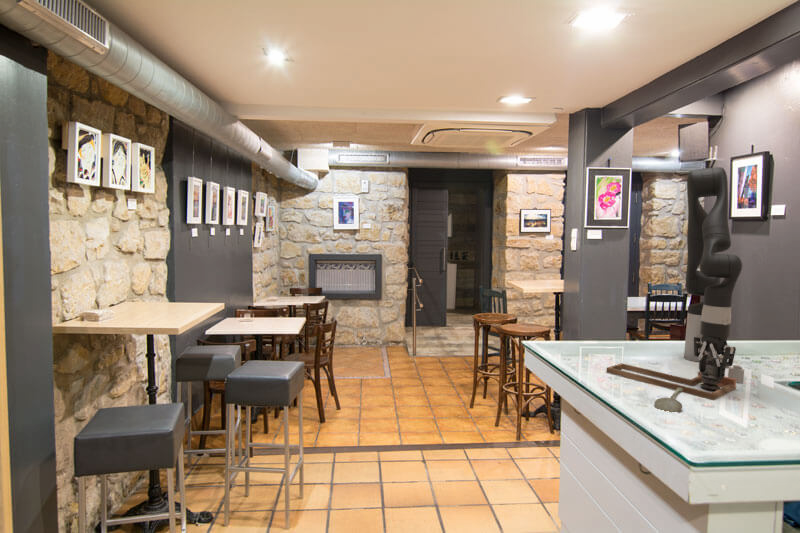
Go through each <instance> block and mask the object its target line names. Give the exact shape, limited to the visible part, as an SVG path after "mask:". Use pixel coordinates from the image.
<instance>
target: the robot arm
mask: <svg viewBox="0 0 800 533" xmlns="http://www.w3.org/2000/svg"><path fill="white" fill-rule="evenodd" d="M686 190H687V192H686V193H687V209H688V210H687V212H688V215H687V217H688V218H687V232H686V235H687V236H686V239H687V240H686V241H687V242H686V243H687V244H686V245H687V247H686V248H687V263H686V273H685V291H686V293H687V294H689V295H692V296H701V297H702V296H703V301H701V302H698V303H693V304H690V305H688V307H687V317H686V328H685V338H684V339H685V341H684V353H683V358H684V359H685V360H689V361H693V362H698V370H699V371H698V372H705V370H706V363H705V362H706V361H707V353H708V352H711V353H712V354H713V357H714V359H716V363H717V366H716V376H715V377H716V378H717V379H723V378H724V376H725V377H726V369H725V368H726V366H729V367H733V365H734V364H733V363H734V358H735V355H736V351H737V348H736V347H735V346H730V345H728V338H730V335H731V334H730V333H731V322H732V321H731V320H732V299H733V292H734V289H735V286H736V284H737V281H738V279H739V277H740V274H741V272H742V271H743V270H742V269H743V263H742V262H743V261H742V260H741V258H740V257H739V256H738V255H736V254H726V253H725V254H724V253H722V252H726V251H727V250H729V249H730V248H731V246H732V245H731V244H732V241H731V235H730V228H729V188H728V175H727V172H726V170H725V168H724V167H718V166H717V167H715V166H714V167H707V168H699V169H698V168H697V169H693V170H690V171H689V172H688V174H687V178H686ZM709 197H716V199H715V203H714V204H713V206H712V208H711V209H710V211H709V213H708V212H706V210H705V208H704V207H703V206H702V204H701V202H700V200H699V199H700V198H709ZM698 268H699V270H698ZM721 279H722V281H721ZM720 359H721V360H722V362H721V361H720Z"/></svg>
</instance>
